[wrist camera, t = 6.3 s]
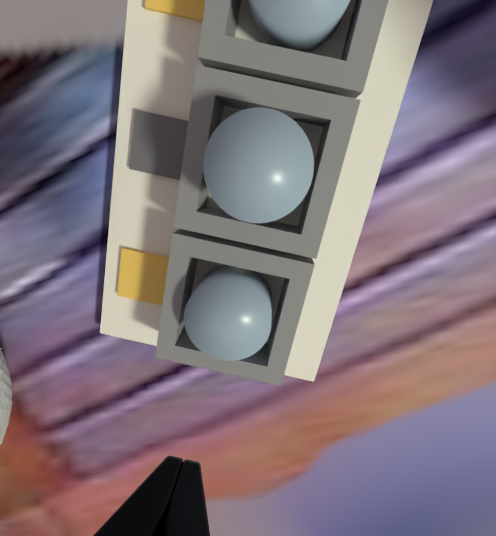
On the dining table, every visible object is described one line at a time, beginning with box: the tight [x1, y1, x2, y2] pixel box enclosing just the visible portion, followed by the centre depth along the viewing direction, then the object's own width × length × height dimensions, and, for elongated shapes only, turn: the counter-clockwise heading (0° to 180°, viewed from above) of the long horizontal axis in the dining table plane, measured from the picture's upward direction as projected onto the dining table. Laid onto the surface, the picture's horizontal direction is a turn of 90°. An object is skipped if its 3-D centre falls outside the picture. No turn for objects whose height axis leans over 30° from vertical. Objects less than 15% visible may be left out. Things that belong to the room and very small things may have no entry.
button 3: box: [184, 264, 272, 361], centre depth 18 cm, size 4×4×3 cm
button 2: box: [203, 108, 314, 223], centre depth 15 cm, size 4×4×3 cm
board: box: [100, 0, 433, 386], centre depth 17 cm, size 14×24×3 cm, turn 168°
